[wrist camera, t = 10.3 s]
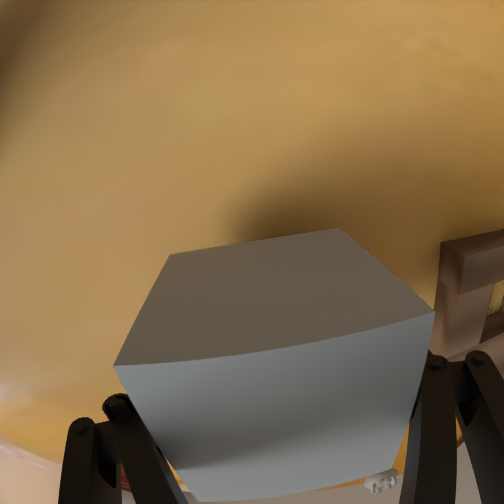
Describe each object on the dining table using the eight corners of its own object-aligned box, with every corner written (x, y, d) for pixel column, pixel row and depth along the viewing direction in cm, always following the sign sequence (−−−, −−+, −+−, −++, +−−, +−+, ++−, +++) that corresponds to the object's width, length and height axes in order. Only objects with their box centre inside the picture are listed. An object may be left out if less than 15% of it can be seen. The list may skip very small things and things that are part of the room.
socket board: (441, 242, 20) (464, 256, 17) (534, 222, 20) (555, 231, 17) (408, 415, 27) (419, 434, 24) (495, 375, 27) (508, 388, 24)
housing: (169, 254, 16) (112, 365, 7) (339, 227, 16) (435, 311, 7) (206, 381, 19) (199, 502, 10) (341, 359, 19) (391, 468, 10)
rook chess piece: (346, 443, 27) (366, 501, 20) (333, 426, 26) (354, 491, 18) (383, 425, 27) (409, 481, 19) (374, 406, 25) (404, 468, 18)
